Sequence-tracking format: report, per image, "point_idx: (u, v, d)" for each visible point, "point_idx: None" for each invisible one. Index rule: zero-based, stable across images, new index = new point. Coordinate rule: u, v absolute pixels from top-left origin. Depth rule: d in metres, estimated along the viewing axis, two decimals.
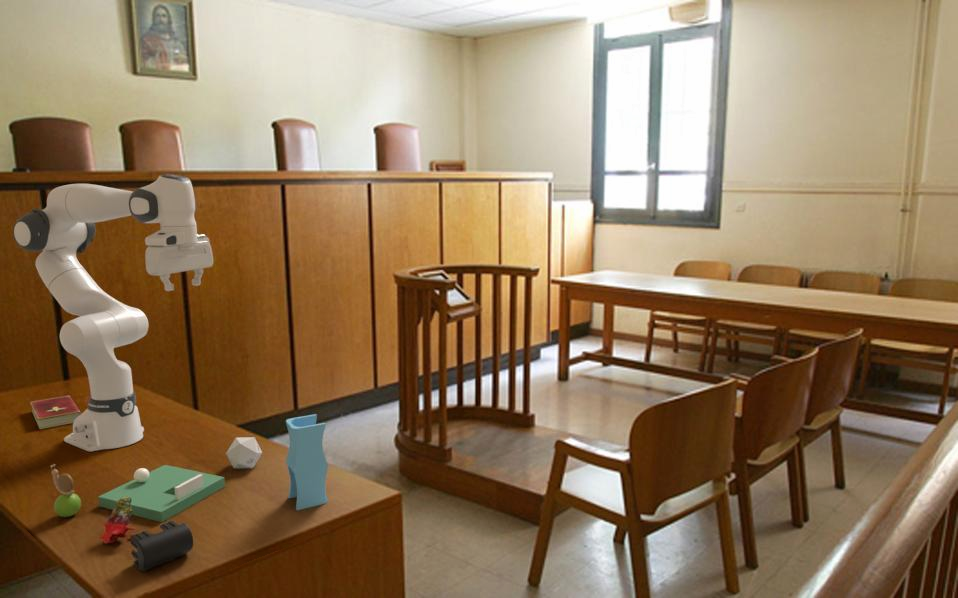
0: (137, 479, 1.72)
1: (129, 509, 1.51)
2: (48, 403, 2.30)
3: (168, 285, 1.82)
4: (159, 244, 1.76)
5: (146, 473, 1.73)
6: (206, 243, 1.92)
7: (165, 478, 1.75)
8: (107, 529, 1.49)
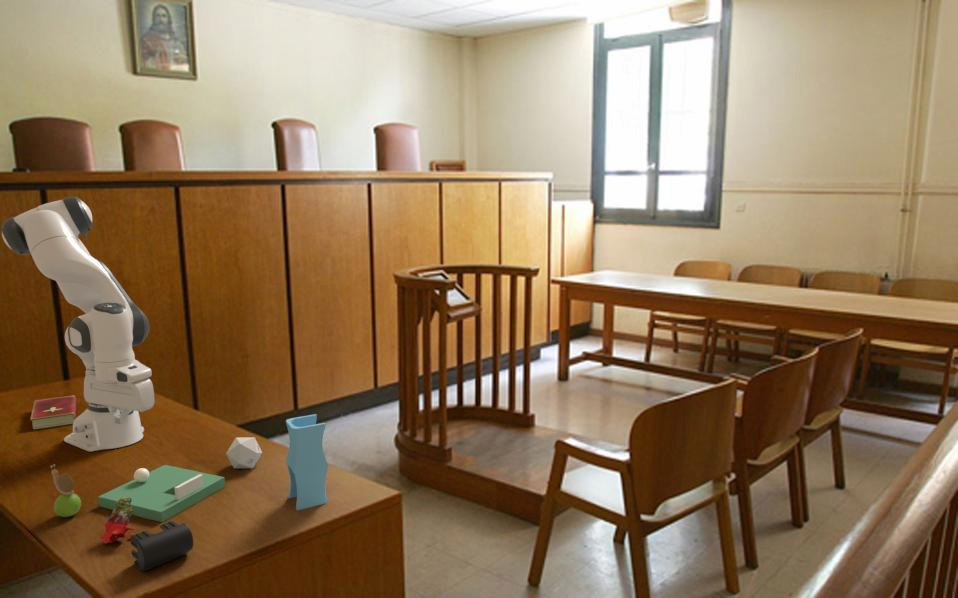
0: (137, 479, 1.72)
1: (129, 509, 1.51)
2: (50, 403, 2.30)
3: (126, 417, 1.73)
4: (148, 376, 1.69)
5: (146, 473, 1.73)
6: None
7: (165, 478, 1.75)
8: (107, 529, 1.49)
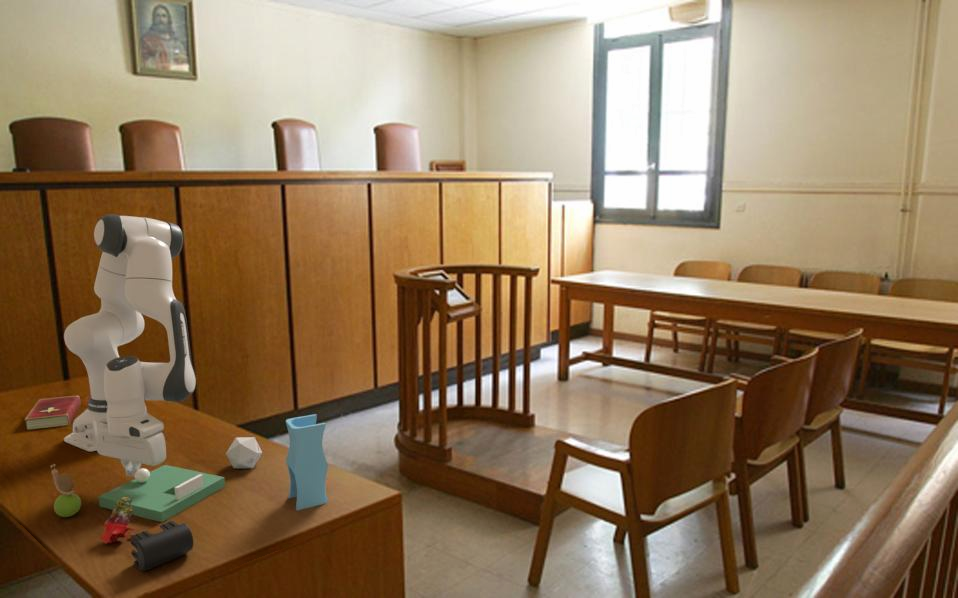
0: (138, 479, 1.72)
1: (129, 509, 1.51)
2: (51, 403, 2.30)
3: (138, 469, 1.74)
4: (160, 429, 1.71)
5: (147, 474, 1.73)
6: None
7: (165, 478, 1.75)
8: (107, 529, 1.49)
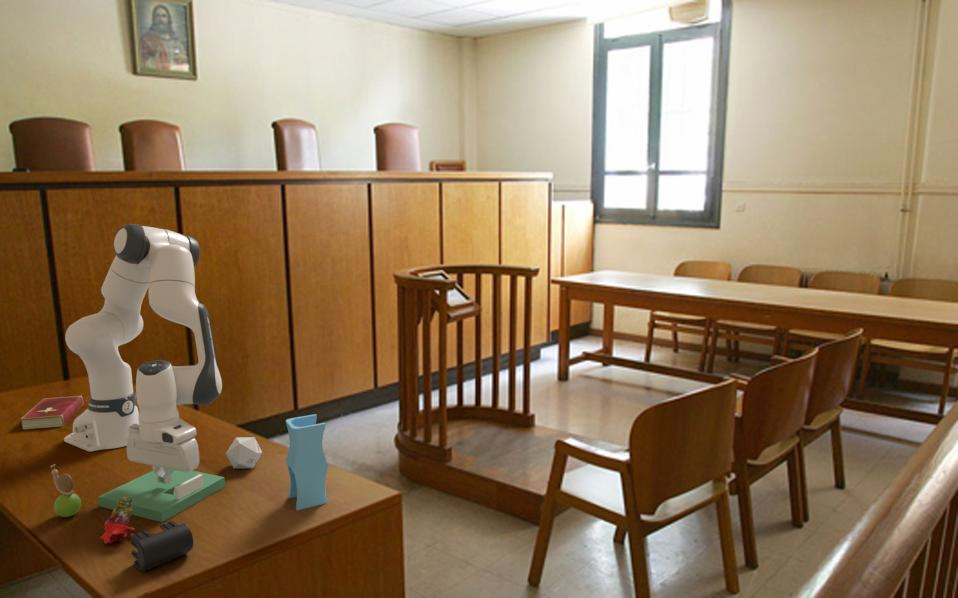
0: None
1: (129, 509, 1.51)
2: (53, 403, 2.31)
3: (170, 476, 1.70)
4: (193, 435, 1.67)
5: None
6: None
7: None
8: (107, 529, 1.49)
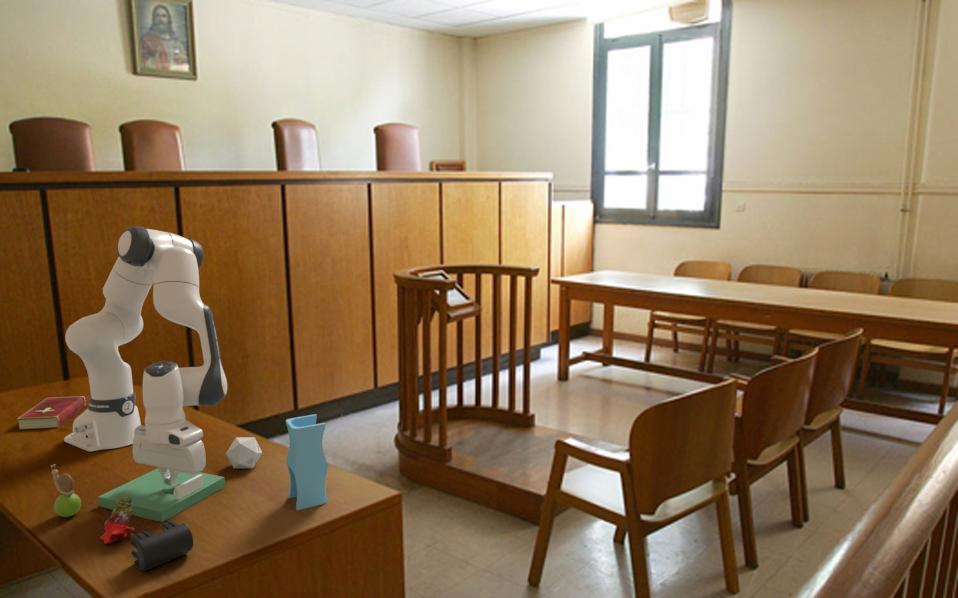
0: None
1: (129, 509, 1.51)
2: (54, 402, 2.31)
3: (176, 478, 1.69)
4: (200, 437, 1.66)
5: None
6: None
7: None
8: (107, 529, 1.49)
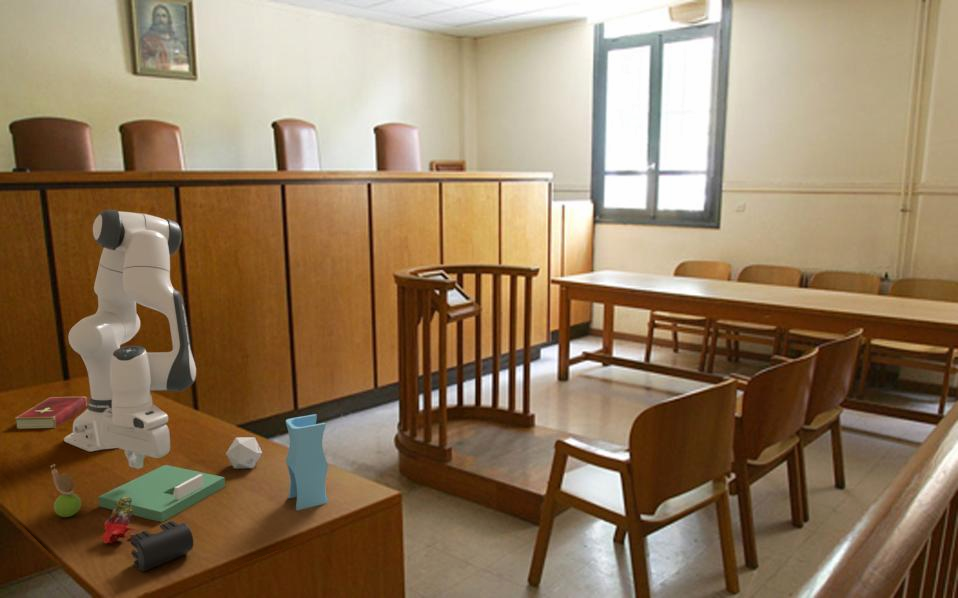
0: None
1: (129, 509, 1.51)
2: (54, 402, 2.31)
3: (141, 461, 1.72)
4: (165, 422, 1.68)
5: None
6: None
7: (165, 478, 1.75)
8: (107, 529, 1.49)
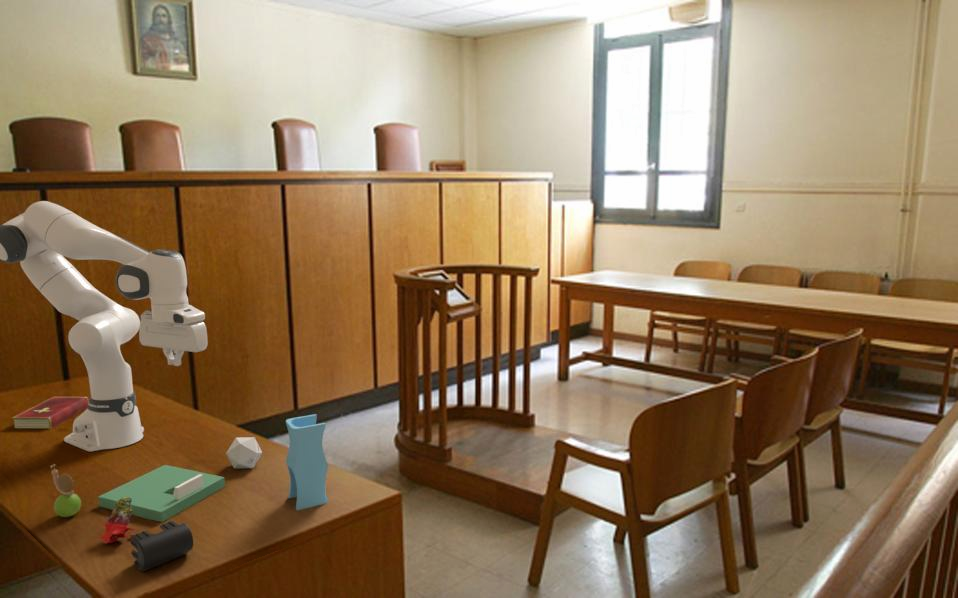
0: None
1: (129, 509, 1.51)
2: (55, 402, 2.31)
3: (180, 359, 1.82)
4: (202, 319, 1.78)
5: None
6: None
7: (165, 478, 1.75)
8: (107, 529, 1.49)
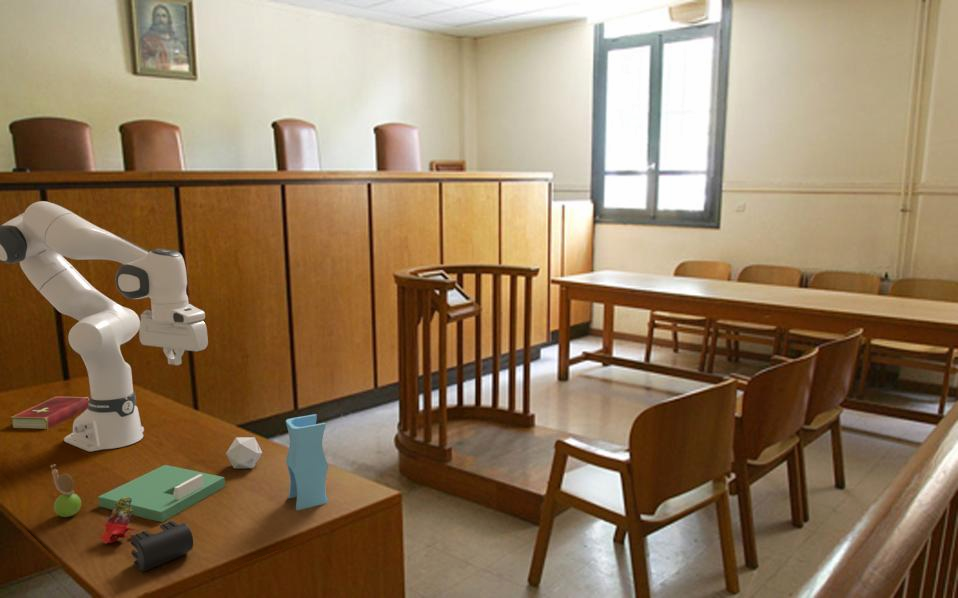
0: None
1: (129, 509, 1.51)
2: (56, 402, 2.31)
3: (180, 358, 1.82)
4: (202, 318, 1.78)
5: None
6: None
7: (165, 478, 1.75)
8: (107, 529, 1.49)
